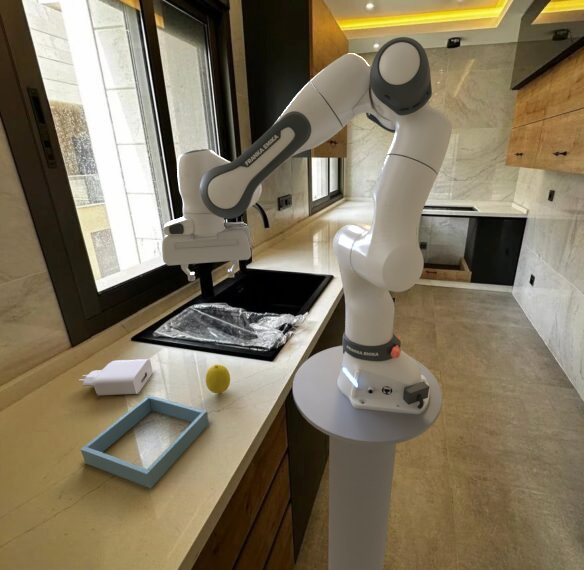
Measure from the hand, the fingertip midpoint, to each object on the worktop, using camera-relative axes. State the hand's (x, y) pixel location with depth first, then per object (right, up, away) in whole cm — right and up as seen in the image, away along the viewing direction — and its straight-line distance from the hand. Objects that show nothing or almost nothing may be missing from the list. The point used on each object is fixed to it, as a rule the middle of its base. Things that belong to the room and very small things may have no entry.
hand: (212, 278), depth 82 cm
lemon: (+3, -28, -3) cm, 28 cm away
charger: (-24, -27, 0) cm, 37 cm away
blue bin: (-6, -33, -17) cm, 38 cm away
